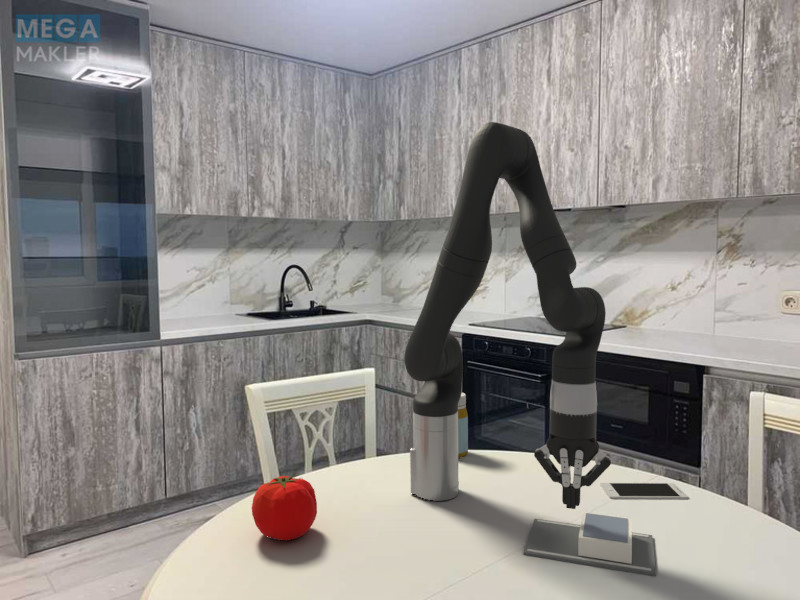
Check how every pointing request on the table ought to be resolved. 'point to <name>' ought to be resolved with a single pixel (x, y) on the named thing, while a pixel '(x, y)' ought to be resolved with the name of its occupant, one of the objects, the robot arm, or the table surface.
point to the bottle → (462, 427)
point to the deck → (605, 537)
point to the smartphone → (643, 491)
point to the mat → (563, 546)
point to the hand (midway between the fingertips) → (571, 506)
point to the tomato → (284, 508)
